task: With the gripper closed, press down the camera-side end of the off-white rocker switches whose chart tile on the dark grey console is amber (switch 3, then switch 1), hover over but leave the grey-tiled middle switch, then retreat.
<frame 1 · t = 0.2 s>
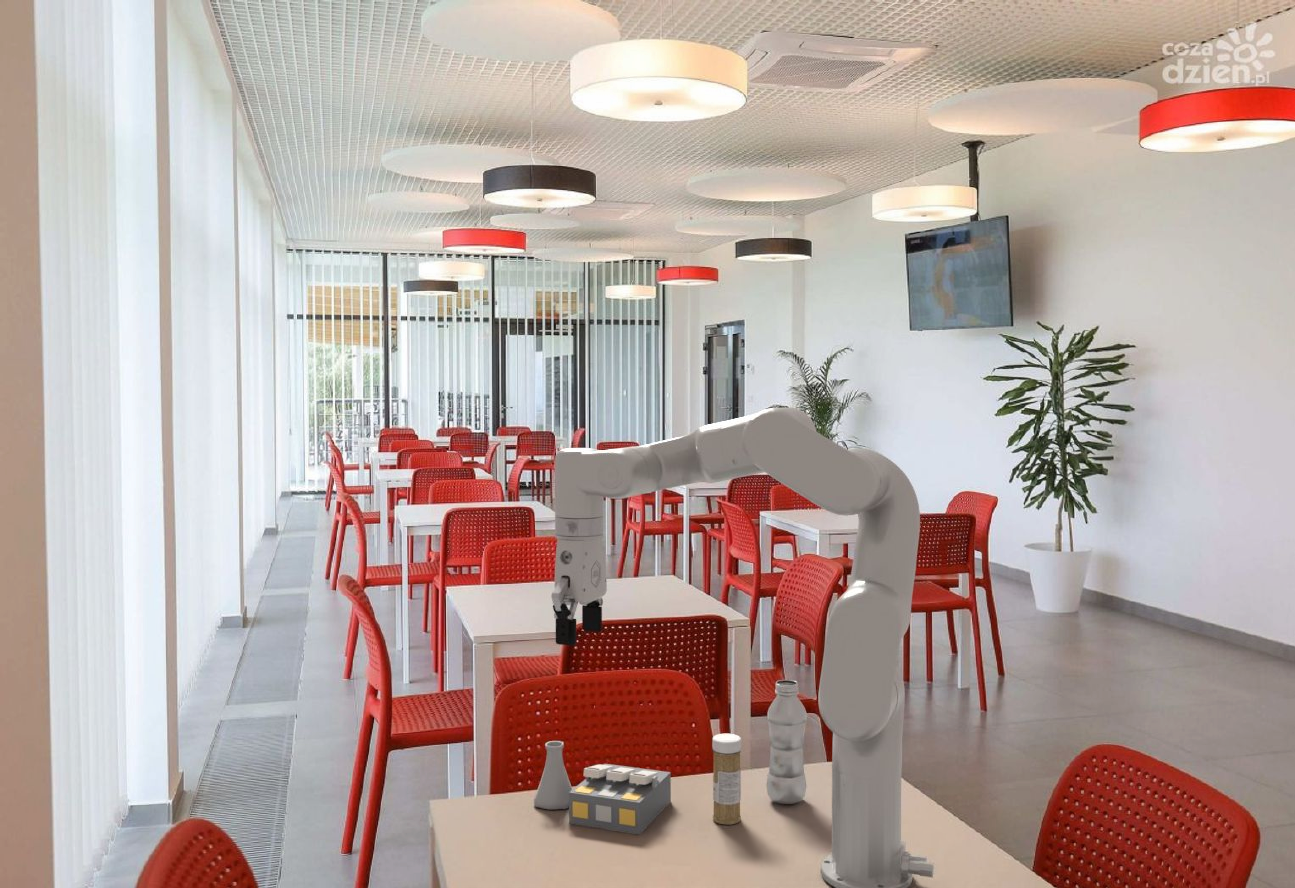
hand: (579, 637, 162), 30 cm above the table, tool pointing down, fingers open, 9 cm apart
sprinkles bottle: (727, 821, 167), on the table
flask: (554, 804, 174), on the table
switch 3: (598, 770, 171), point 6 cm above the table, hinge at 12.0°
console: (621, 812, 170), on the table
plastic bottle: (786, 802, 174), on the table
switch 1: (644, 776, 168), point 6 cm above the table, hinge at 12.0°
switch 2: (621, 773, 170), point 6 cm above the table, hinge at 12.0°
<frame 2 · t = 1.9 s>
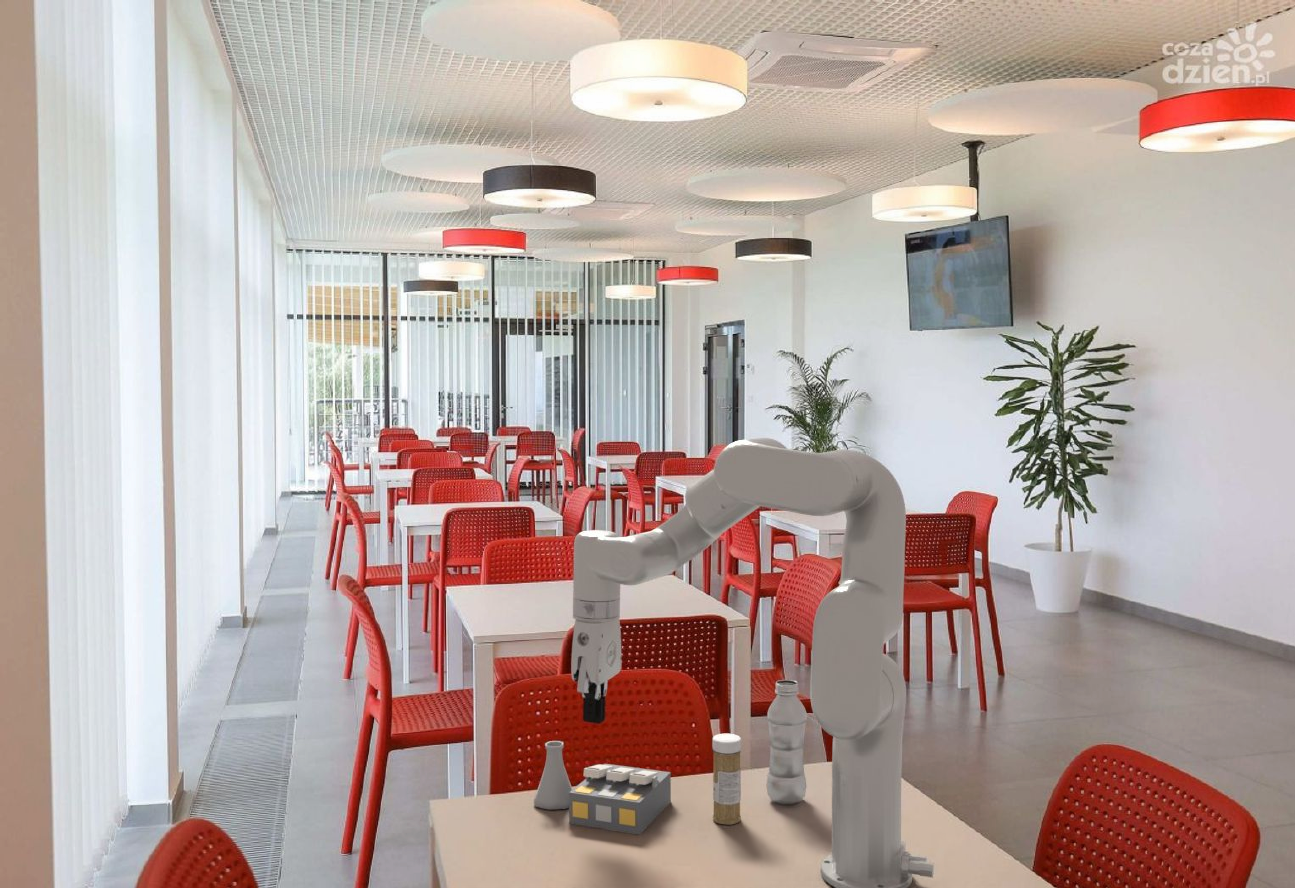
hand: (593, 720, 168), 15 cm above the table, tool pointing down, fingers closed
nothing on the table moved.
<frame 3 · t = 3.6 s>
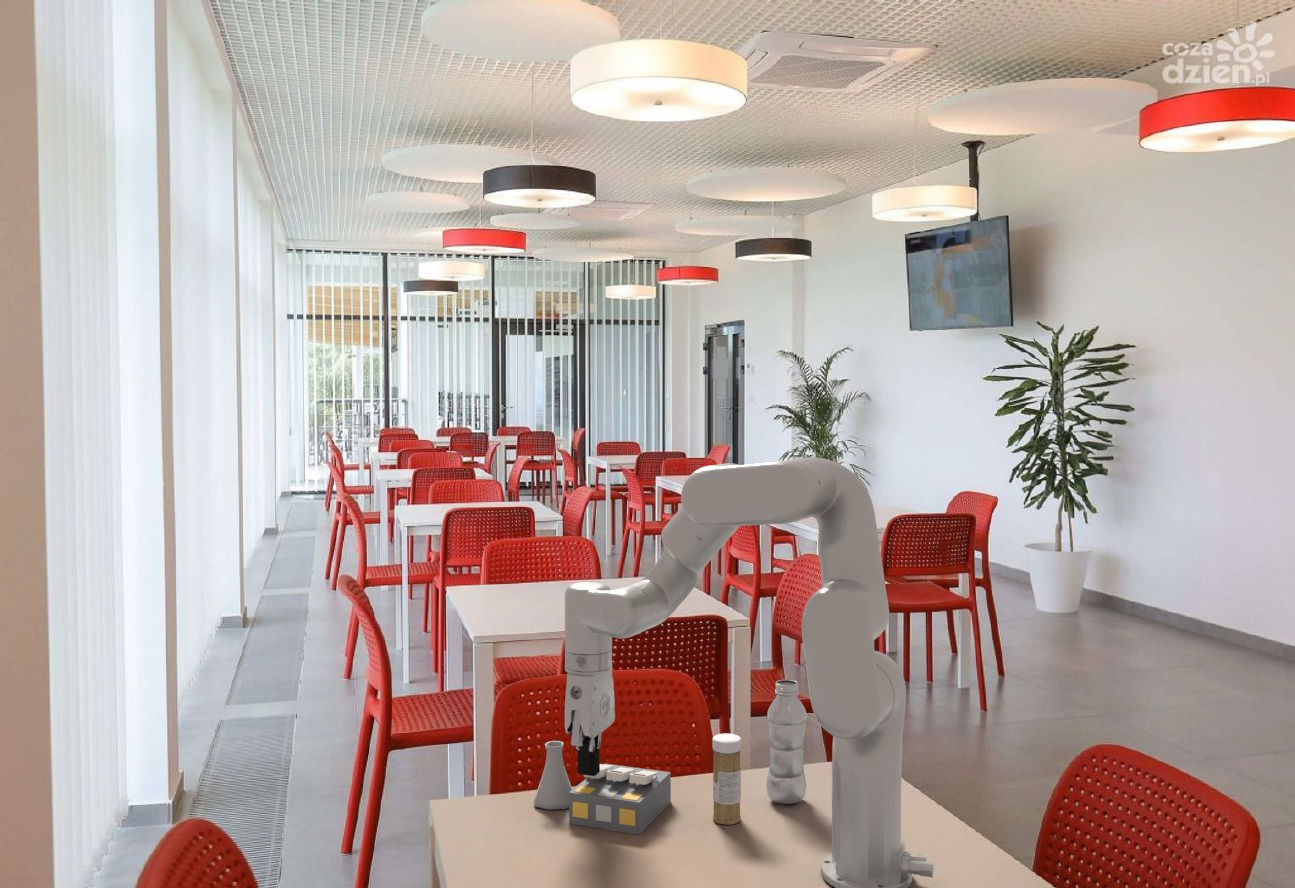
hand: (588, 773, 168), 7 cm above the table, tool pointing down, fingers closed
switch 3: (598, 770, 171), point 6 cm above the table, hinge at 10.7°, touching gripper
everything else where it was.
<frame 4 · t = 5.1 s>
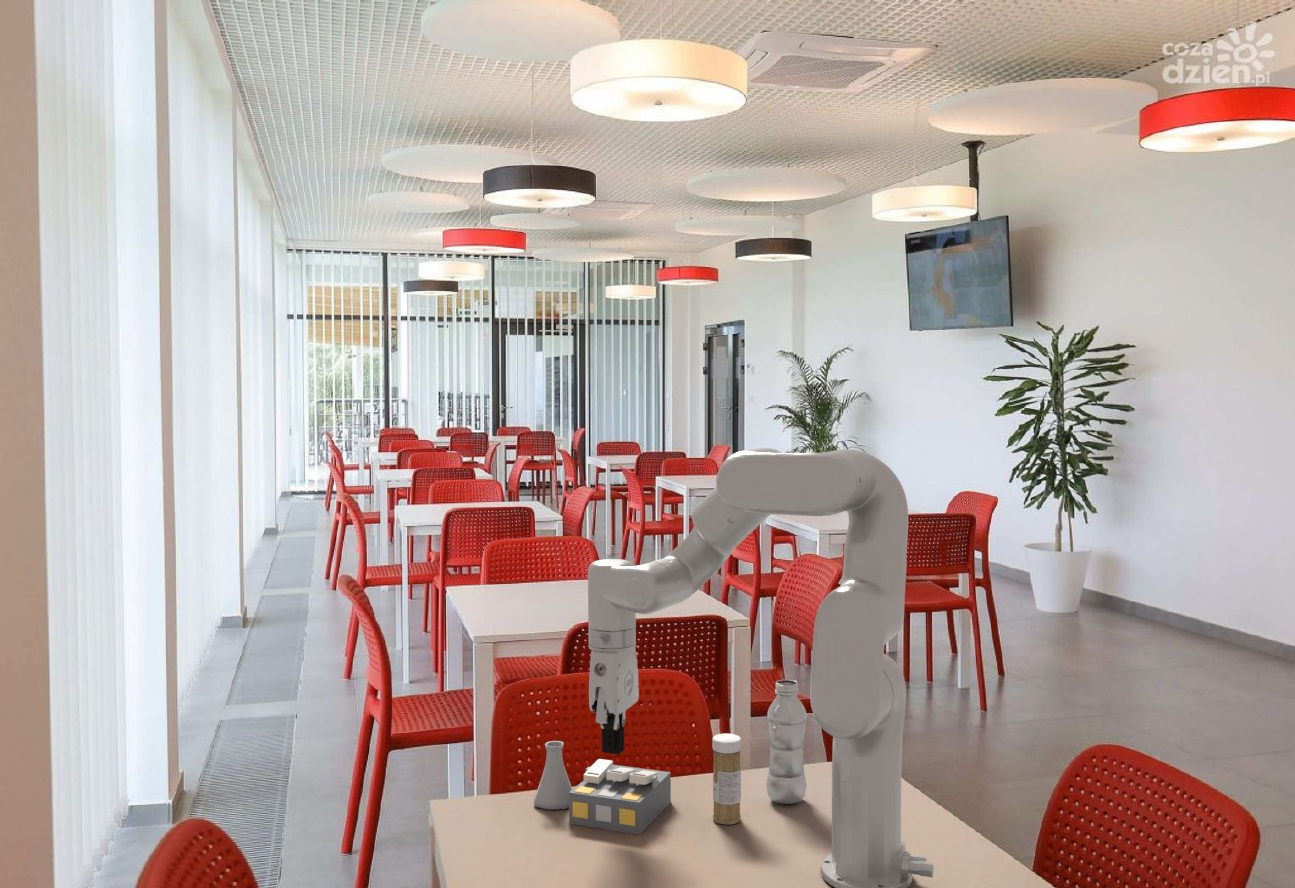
hand: (613, 751, 167), 11 cm above the table, tool pointing down, fingers closed
switch 3: (598, 770, 171), point 6 cm above the table, hinge at -6.3°
everything else where it was.
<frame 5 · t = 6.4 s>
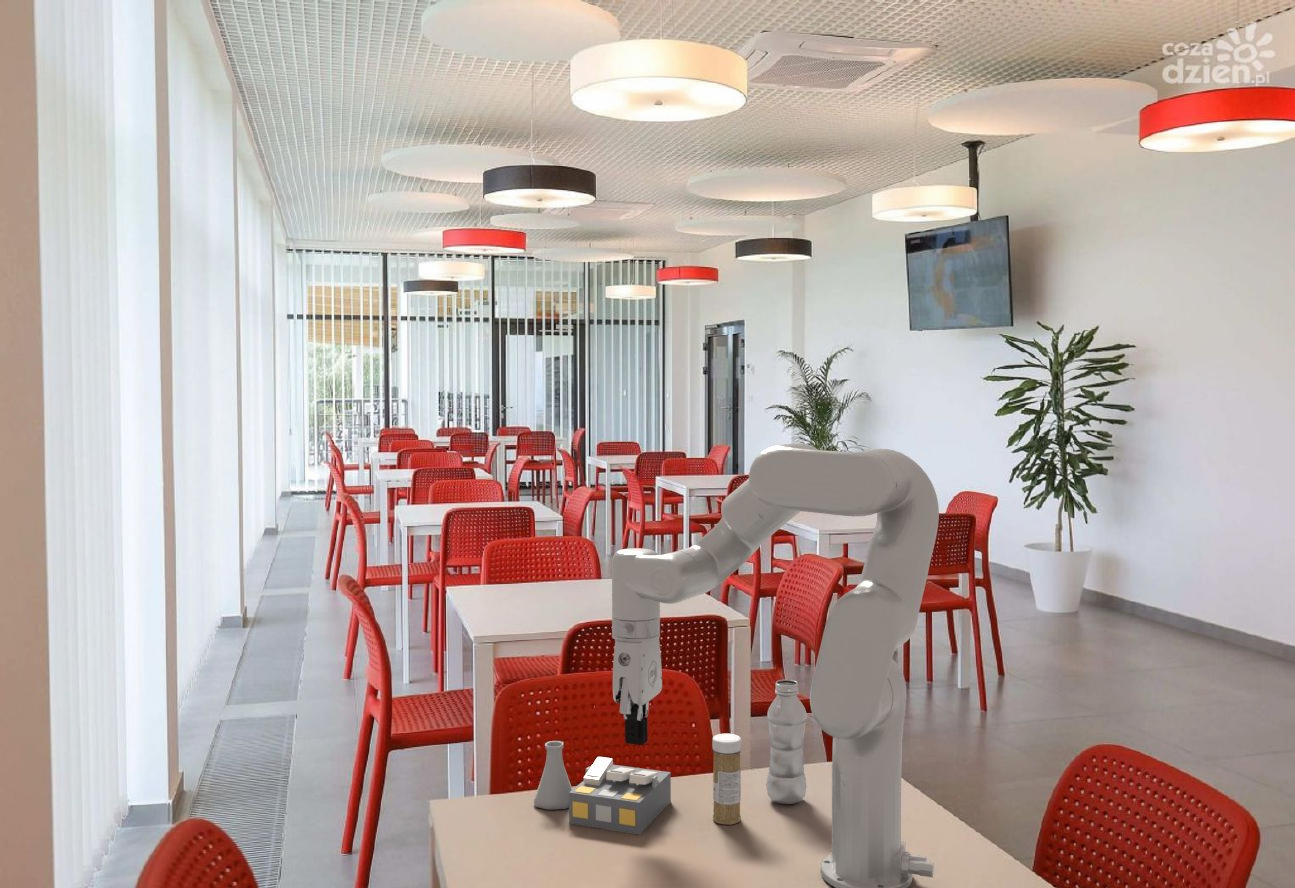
hand: (636, 742, 165), 13 cm above the table, tool pointing down, fingers closed
switch 3: (598, 770, 171), point 6 cm above the table, hinge at -15.0°, touching console
everything else where it was.
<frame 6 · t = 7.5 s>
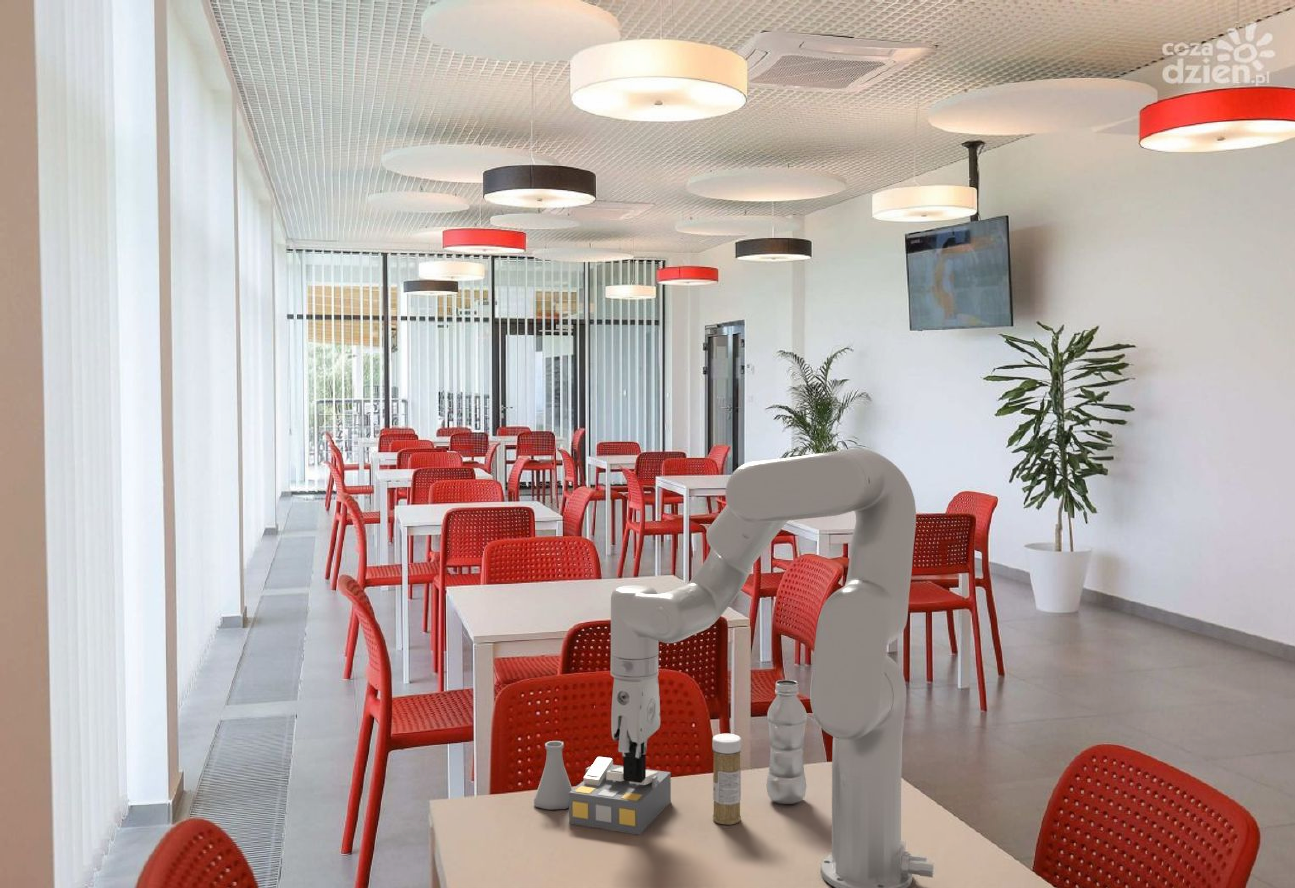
hand: (634, 779, 165), 7 cm above the table, tool pointing down, fingers closed
switch 1: (644, 776, 168), point 6 cm above the table, hinge at 10.5°, touching gripper
everything else where it was.
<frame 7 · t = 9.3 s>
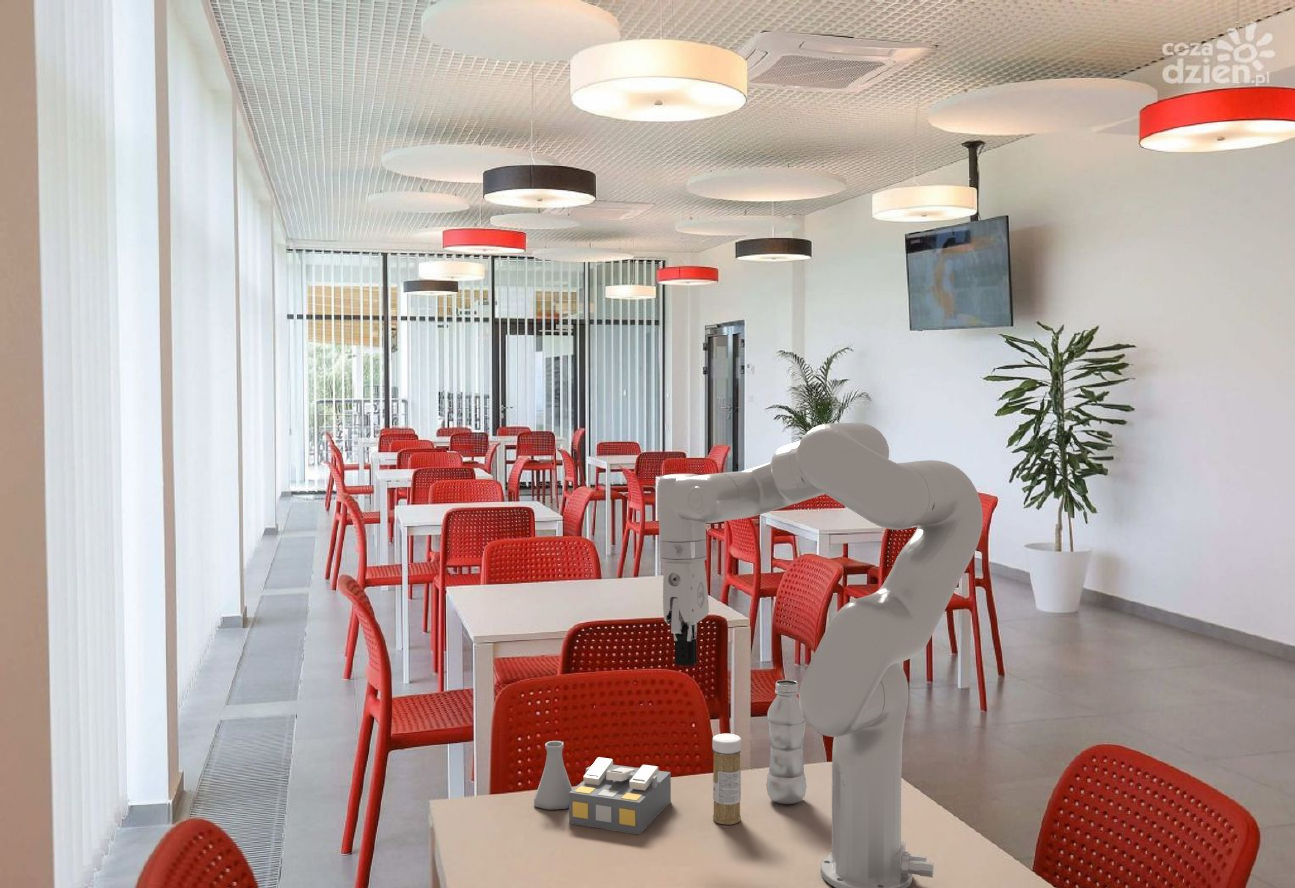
hand: (686, 664, 168), 24 cm above the table, tool pointing down, fingers closed
switch 3: (598, 770, 171), point 6 cm above the table, hinge at -12.3°
switch 1: (643, 776, 168), point 6 cm above the table, hinge at -6.9°
everything else where it was.
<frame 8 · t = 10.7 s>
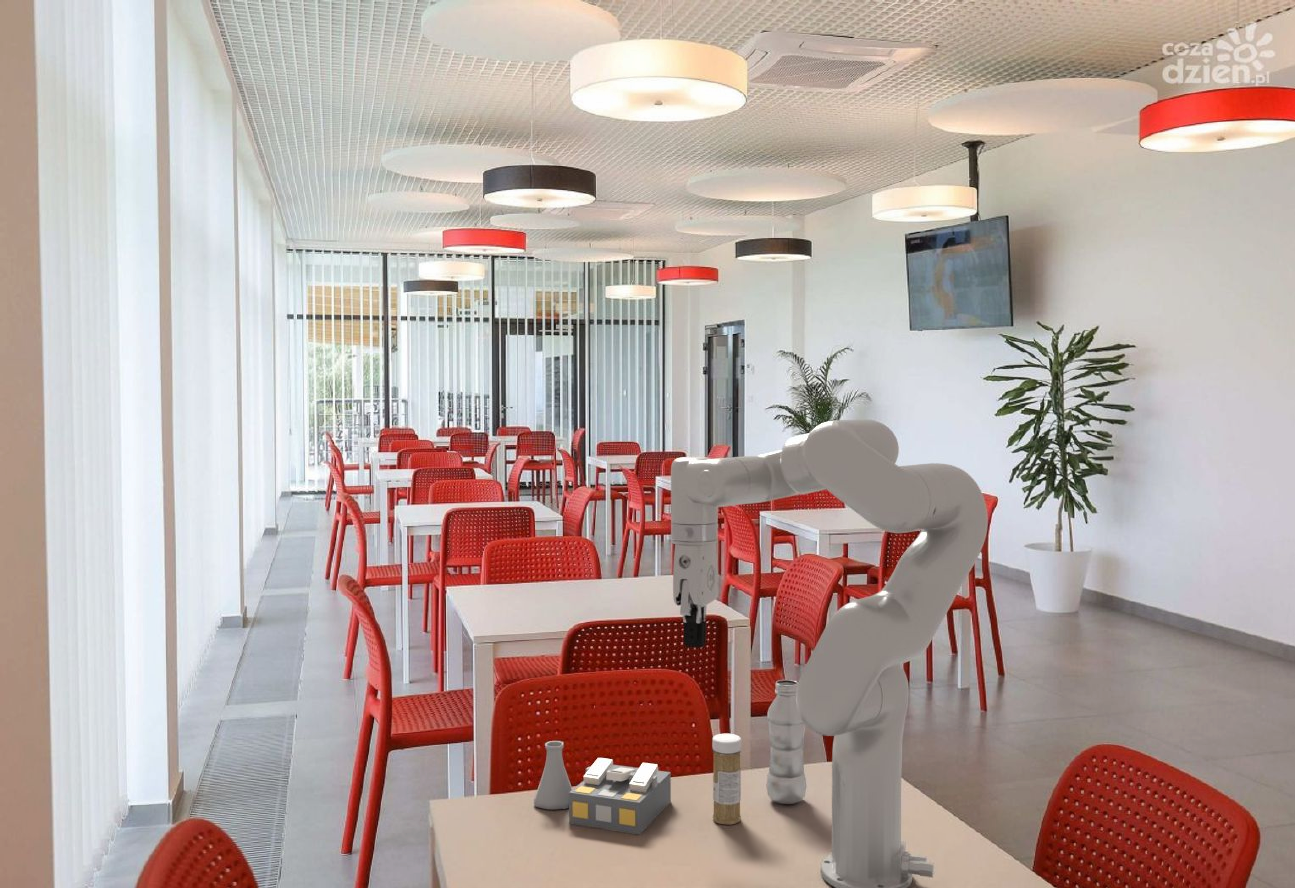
hand: (694, 645, 170), 27 cm above the table, tool pointing down, fingers closed
switch 3: (598, 770, 171), point 6 cm above the table, hinge at -11.1°
switch 1: (643, 776, 168), point 6 cm above the table, hinge at -14.0°, touching console
everything else where it was.
at the end: switch 3 at -11° (first picture: +12°); switch 1 at -15° (first picture: +12°); switch 2 at +12° (first picture: +12°) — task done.
